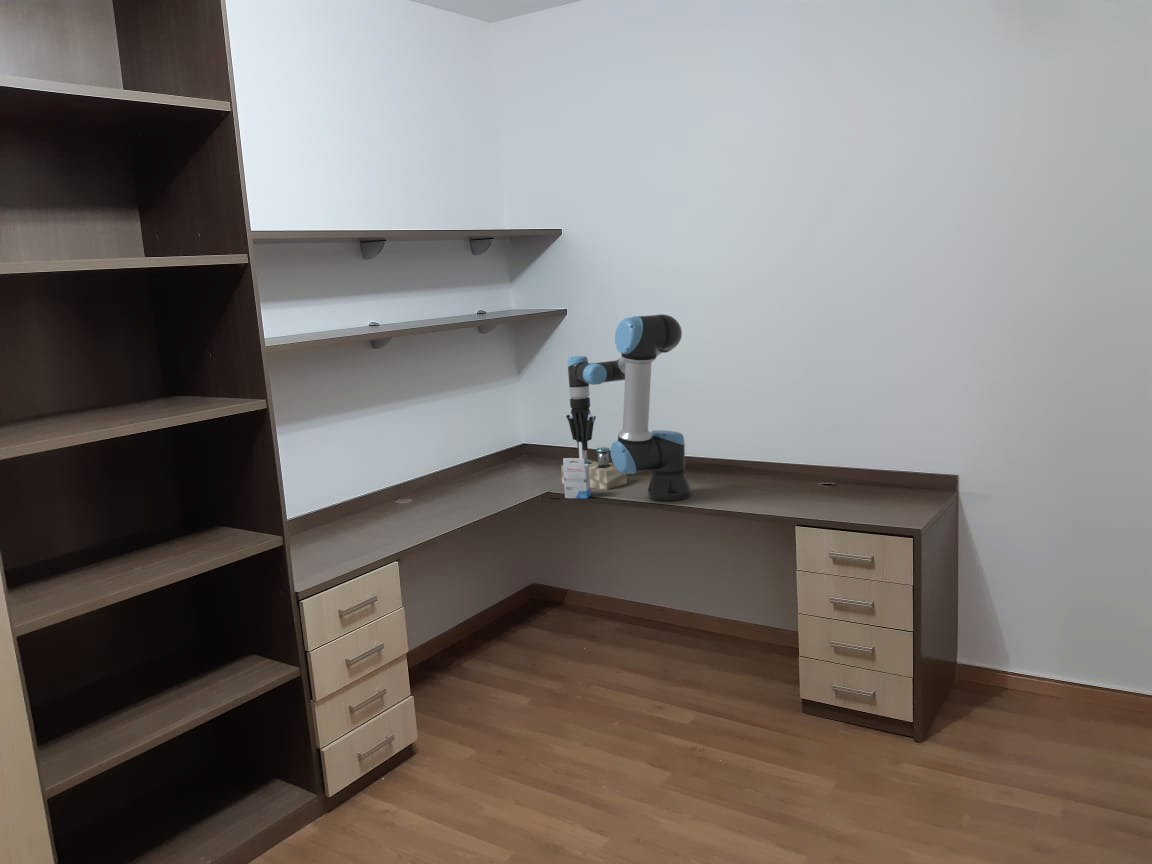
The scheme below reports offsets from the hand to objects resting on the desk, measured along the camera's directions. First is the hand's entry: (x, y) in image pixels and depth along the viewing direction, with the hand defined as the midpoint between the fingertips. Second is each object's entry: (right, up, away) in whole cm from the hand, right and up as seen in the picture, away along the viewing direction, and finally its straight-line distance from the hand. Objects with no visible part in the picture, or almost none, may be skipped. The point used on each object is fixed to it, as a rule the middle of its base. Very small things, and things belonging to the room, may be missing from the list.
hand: (583, 458), depth 347 cm
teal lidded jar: (0, -8, +2) cm, 9 cm away
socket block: (+4, -9, -1) cm, 10 cm away
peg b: (+8, -4, -6) cm, 10 cm away
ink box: (-2, -13, -21) cm, 25 cm away
